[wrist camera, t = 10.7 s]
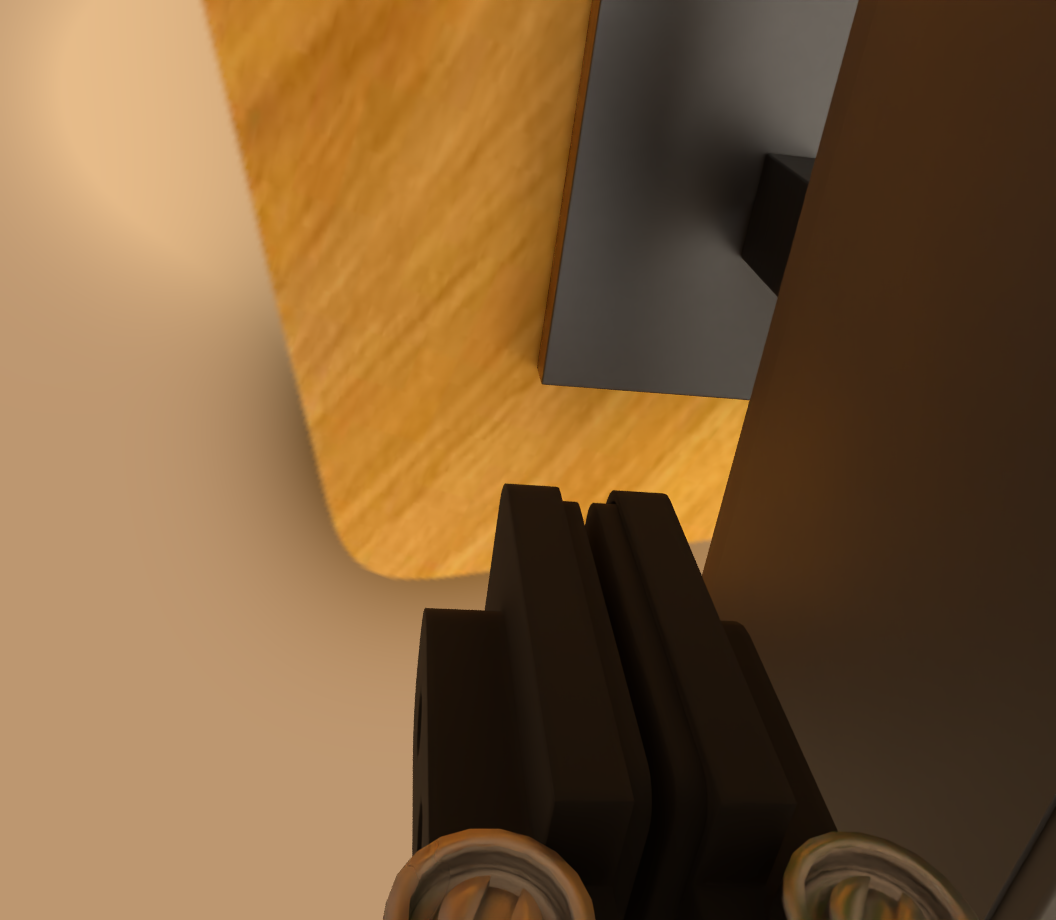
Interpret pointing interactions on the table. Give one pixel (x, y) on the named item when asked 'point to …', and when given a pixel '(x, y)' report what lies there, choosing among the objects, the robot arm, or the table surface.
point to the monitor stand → (686, 189)
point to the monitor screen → (917, 451)
